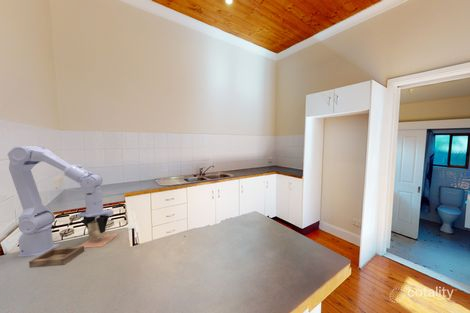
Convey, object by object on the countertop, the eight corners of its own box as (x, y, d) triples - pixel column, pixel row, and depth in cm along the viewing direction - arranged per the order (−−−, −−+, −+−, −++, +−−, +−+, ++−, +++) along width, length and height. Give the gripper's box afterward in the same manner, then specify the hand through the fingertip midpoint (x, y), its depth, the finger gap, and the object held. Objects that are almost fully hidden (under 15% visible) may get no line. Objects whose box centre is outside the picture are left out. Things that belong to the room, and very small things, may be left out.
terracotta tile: (75, 250, 74) (75, 248, 74) (95, 236, 85) (95, 235, 85) (102, 248, 75) (101, 246, 74) (119, 235, 86) (118, 233, 85)
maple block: (89, 239, 78) (87, 223, 77) (96, 235, 82) (94, 220, 81) (98, 239, 78) (97, 223, 77) (105, 234, 82) (103, 219, 81)
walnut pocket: (29, 268, 64) (28, 261, 64) (53, 254, 72) (52, 248, 72) (65, 265, 64) (64, 259, 64) (84, 252, 72) (83, 246, 72)
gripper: (69, 206, 75) (73, 238, 76) (104, 203, 75) (107, 235, 76) (83, 201, 82) (86, 230, 83) (115, 198, 82) (118, 228, 83)
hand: (97, 232), depth 80 cm, fingers closed on maple block, 4 cm apart
